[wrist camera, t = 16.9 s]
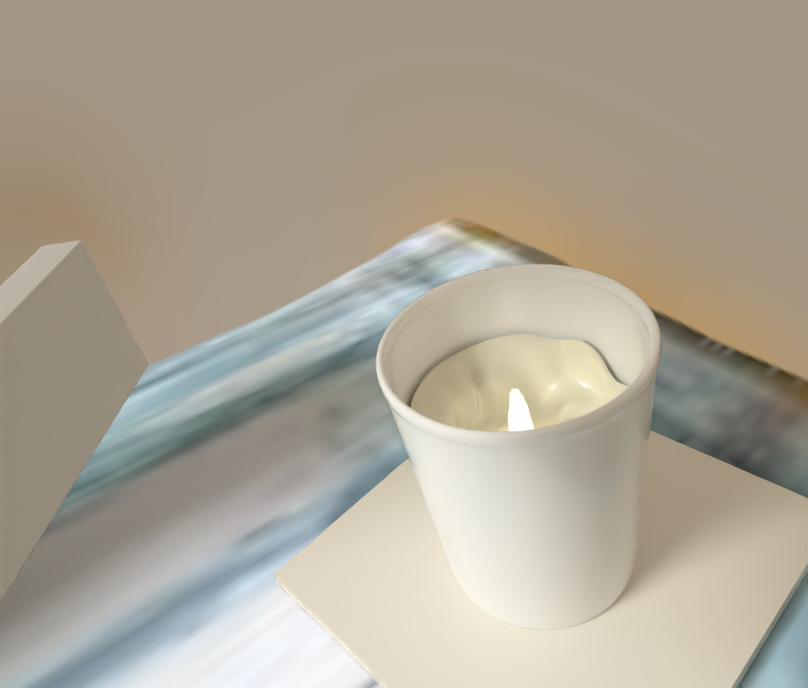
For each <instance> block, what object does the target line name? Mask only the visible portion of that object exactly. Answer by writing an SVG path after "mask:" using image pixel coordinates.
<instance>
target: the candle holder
mask: <svg viewBox="0 0 808 688" xmlns="http://www.w3.org/2000/svg"><path fill="white" fill-rule="evenodd" d="M660 355H661V333H660V329H659V325H658V322H657V320H656V318H655V316H654V314H653V312H652V311H651V309H650V308H649V306H648V305H647V304H646V303H645V302H644V301H643V300H642V299H641V298H640V297H639V296H638V295H637V294H636V293H635V292H633V291H632V290H631V289H629V288H628V287H626V286H625V285H623V284H621V283H619V282H617V281H615V280H613V279H611V278H609V277H606V276H604V275H601V274H598V273H595V272H592V271H588V270H584V269H580V268H575V267H569V266H562V265H551V264H521V265H510V266H502V267H496V268H491V269H486V270H482V271H478V272H474V273H471V274H467V275H464V276H461V277H458V278H456V279H453V280H451V281H448V282H446V283H444V284H441V285H439V286H437V287H435V288H433V289H432V290H430V291H428V292H426V293H425V294H423V295H421V296H420V297H418V298H417V299H416V300H414V301H413V302H412V303H410V304H409V305H408V306H407V307H405V308H404V309H403V310H402V311H401V312H400V313H399V314H398V315H397V316H396V317H395V318H394V320H393V321H392V322H391V323H390V325H389V326H388V328H387V329H386V331H385V333H384V334H383V336H382V338H381V341H380V343H379V346H378V350H377V355H376V373H377V378H378V382H379V385H380V387H381V390H382V392H383V394H384V396H385V398H386V399H387V401H388V403H389V406H390V409H391V411H392V414H393V417H394V419H395V422H396V425H397V427H398V430H399V433H400V436H401V438H402V441H403V444H404V447H405V449H406V452H407V455H408V458H409V460H410V463H411V466H412V468H413V471H414V474H415V477H416V479H417V482H418V485H419V488H420V490H421V493H422V496H423V499H424V501H425V504H426V507H427V509H428V512H429V515H430V518H431V520H432V523H433V526H434V528H435V531H436V534H437V537H438V539H439V542H440V545H441V547H442V550H443V552H444V555H445V558H446V560H447V563H448V565H449V568H450V570H451V572H452V575H453V577H454V579H455V581H456V582H457V584H458V586H459V587H460V589H461V590H462V592H463V593H464V594H465V595H466V597H467V598H468V599H469V600H470V601H471V602H472V603H473V604H474V605H475V606H476V607H478V608H479V609H480V610H481V611H483V612H484V613H486V614H487V615H489V616H491V617H493V618H495V619H497V620H499V621H501V622H503V623H506V624H509V625H512V626H515V627H519V628H524V629H532V630H556V629H563V628H568V627H572V626H575V625H578V624H581V623H584V622H586V621H588V620H590V619H592V618H594V617H596V616H597V615H599V614H601V613H602V612H603V611H605V610H606V609H607V608H609V607H610V606H611V605H612V604H613V603H614V602H615V601H616V600H617V599H618V598H619V596H620V595H621V594H622V592H623V591H624V589H625V588H626V586H627V584H628V582H629V580H630V578H631V575H632V572H633V569H634V565H635V561H636V555H637V549H638V541H639V533H640V524H641V515H642V506H643V496H644V486H645V477H646V467H647V457H648V448H649V438H650V429H651V419H652V409H653V400H654V390H655V381H656V372H657V367H658V364H659V360H660Z"/></svg>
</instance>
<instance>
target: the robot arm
mask: <svg viewBox="0 0 808 688" xmlns="http://www.w3.org/2000/svg"><path fill="white" fill-rule="evenodd" d="M148 365H149V364H148V362H147V360H146V358H145V356H144V355H143V353H142V351H141V349H140V347H139V345H138V343H137V341H136V340H135V338H134V336H133V334H132V332H131V330H130V329H129V327H128V325H127V323H126V321H125V320H124V318H123V316H122V314H121V312H120V311H119V308H118V307H117V305H116V303H115V301H114V299H113V297H112V296H111V294H110V292H109V290H108V288H107V286H106V284H105V283H104V281H103V279H102V277H101V275H100V273H99V272H98V270H97V268H96V266H95V264H94V262H93V260H92V259H91V257H90V255H89V253H88V251H87V249H86V248H85V246H84V244H83V242H82V240H79V241H73V242H66V243H59V244H52V245H45V246H42V247H41V248H40V249H39V250H38V251H37V252H36V253H35V254H34V255H32V256H31V257H30V258H29V259H28V260H27V261H26V262H25V263H24V264H23V265H22V266H21V267H20V268H19V269H18V270H17V271H16V272H15V273H13V274H12V275H11V276H10V277H9V278H8V279H7V280H6V281H5V282H4V283H3V284H2V285H1V286H0V602H1V600H2V598H3V597H4V595H5V594H6V592H7V590H8V589H9V587H10V586H11V584H12V582H13V581H14V579H15V578H16V576H17V574H18V573H19V571H20V570H21V568H22V566H23V565H24V563H25V562H26V560H27V558H28V557H29V555H30V554H31V552H32V550H33V549H34V547H35V546H36V544H37V542H38V541H39V539H40V538H41V536H42V534H43V533H44V531H45V530H46V528H47V526H48V525H49V523H50V522H51V520H52V518H53V517H54V515H55V514H56V512H57V510H58V509H59V507H60V506H61V504H62V502H63V501H64V499H65V498H66V496H67V494H68V493H69V491H70V490H71V488H72V486H73V485H74V483H75V482H76V480H77V478H78V477H79V475H80V474H81V472H82V470H83V469H84V467H85V466H86V464H87V462H88V461H89V459H90V458H91V456H92V454H93V453H94V451H95V450H96V448H97V446H98V445H99V443H100V442H101V440H102V438H103V437H104V435H105V434H106V432H107V430H108V429H109V427H110V426H111V424H112V422H113V421H114V419H115V418H116V416H117V414H118V413H119V411H120V410H121V408H122V406H123V405H124V403H125V402H126V400H127V398H128V397H129V395H130V394H131V392H132V390H133V389H134V387H135V386H136V384H137V382H138V381H139V379H140V378H141V376H142V374H143V373H144V371H145V370H146V368H147V366H148Z"/></svg>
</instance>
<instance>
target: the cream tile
mask: <svg viewBox="0 0 808 688" xmlns="http://www.w3.org/2000/svg"><path fill="white" fill-rule="evenodd" d="M807 572H808V498H806V497H804V496H802V495H799V494H797V493H795V492H792V491H790V490H788V489H785V488H783V487H781V486H778V485H776V484H774V483H772V482H769V481H767V480H765V479H762V478H760V477H758V476H755V475H753V474H751V473H748V472H746V471H744V470H741V469H739V468H737V467H734V466H732V465H730V464H727V463H725V462H723V461H721V460H718V459H716V458H714V457H711V456H709V455H707V454H704V453H702V452H700V451H697V450H695V449H693V448H690V447H688V446H686V445H683V444H681V443H679V442H676V441H674V440H672V439H670V438H667V437H665V436H663V435H660V434H658V433H656V432H653V431H651V430H650V438H649V448H648V457H647V467H646V477H645V486H644V496H643V506H642V515H641V524H640V533H639V541H638V549H637V555H636V561H635V565H634V569H633V572H632V575H631V578H630V580H629V582H628V584H627V586H626V588H625V589H624V591H623V592H622V594H621V595H620V596H619V598H618V599H617V600H616V601H615V602H614V603H613V604H612V605H611V606H610V607H609V608H607V609H606V610H605V611H603V612H602V613H601V614H599V615H597V616H596V617H594V618H592V619H590V620H588V621H586V622H584V623H581V624H578V625H575V626H572V627H568V628H563V629H556V630H532V629H524V628H519V627H515V626H512V625H509V624H506V623H503V622H501V621H499V620H497V619H495V618H493V617H491V616H489V615H487V614H486V613H484V612H483V611H481V610H480V609H479V608H478V607H476V606H475V605H474V604H473V603H472V602H471V601H470V600H469V599H468V598H467V597H466V595H465V594H464V593H463V592H462V590H461V589H460V587H459V586H458V584H457V582H456V581H455V579H454V577H453V575H452V572H451V570H450V568H449V565H448V563H447V560H446V558H445V555H444V552H443V550H442V547H441V545H440V542H439V539H438V537H437V534H436V531H435V528H434V526H433V523H432V520H431V518H430V515H429V512H428V509H427V507H426V504H425V501H424V499H423V496H422V493H421V490H420V488H419V485H418V482H417V479H416V477H415V474H414V471H413V468H412V466H411V463H410V460H409V458H408V459H406V460H405V461H404V462H403V463H402V464H401V465H399V466H398V467H397V468H396V469H395V470H394V471H393V472H391V473H390V474H389V475H388V476H387V477H386V478H385V479H383V480H382V481H381V482H380V483H379V484H378V485H376V486H375V487H374V488H373V489H372V490H371V491H370V492H368V493H367V494H366V495H365V496H364V497H363V498H361V499H360V500H359V501H358V502H357V503H356V504H355V505H353V506H352V507H351V508H350V509H349V510H348V511H346V512H345V513H344V514H343V515H342V516H341V517H340V518H338V519H337V520H336V521H335V522H334V523H333V524H331V525H330V526H329V527H328V528H327V529H326V530H325V531H323V532H322V533H321V534H320V535H319V536H318V537H317V538H315V539H314V540H313V541H312V542H311V543H310V544H308V545H307V546H306V547H305V548H304V549H303V550H302V551H300V552H299V553H298V554H297V555H296V556H295V557H293V558H292V559H291V560H290V561H289V562H288V563H287V564H285V565H284V566H283V567H282V568H281V569H280V570H278V571H277V572H276V573H275V574H274V577H275V579H276V580H277V582H278V584H279V586H280V588H281V589H283V590H284V591H285V592H286V593H287V594H288V595H289V596H290V597H291V598H292V599H293V600H294V601H295V602H296V603H297V604H298V605H299V606H300V607H301V608H302V609H303V610H304V611H305V612H306V613H307V614H308V615H309V616H310V617H311V618H312V619H313V620H314V621H315V622H316V623H317V624H318V625H319V626H320V627H321V628H322V629H323V630H324V631H325V632H326V633H327V634H328V635H329V636H330V637H331V638H332V639H333V640H334V641H335V642H336V643H337V644H339V645H340V646H341V647H342V648H343V649H344V650H345V651H346V652H347V653H348V654H349V655H350V656H351V657H352V658H353V659H354V660H355V661H356V662H357V663H358V664H359V665H360V666H361V667H362V668H363V669H364V670H365V671H366V672H367V673H368V674H369V675H370V676H371V677H372V678H373V679H374V680H375V681H376V682H377V683H378V684H379V685H380V686H381V687H382V688H737V687H738V686H739V684H740V682H741V681H742V679H743V677H744V676H745V674H746V673H747V671H748V669H749V668H750V666H751V664H752V663H753V661H754V659H755V658H756V656H757V654H758V653H759V651H760V649H761V648H762V646H763V645H764V643H765V641H766V640H767V638H768V636H769V635H770V633H771V631H772V630H773V628H774V626H775V625H776V623H777V622H778V620H779V618H780V617H781V615H782V613H783V612H784V610H785V608H786V607H787V605H788V603H789V602H790V600H791V598H792V597H793V595H794V594H795V592H796V590H797V589H798V587H799V585H800V584H801V582H802V580H803V579H804V577H805V575H806V574H807Z"/></svg>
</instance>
